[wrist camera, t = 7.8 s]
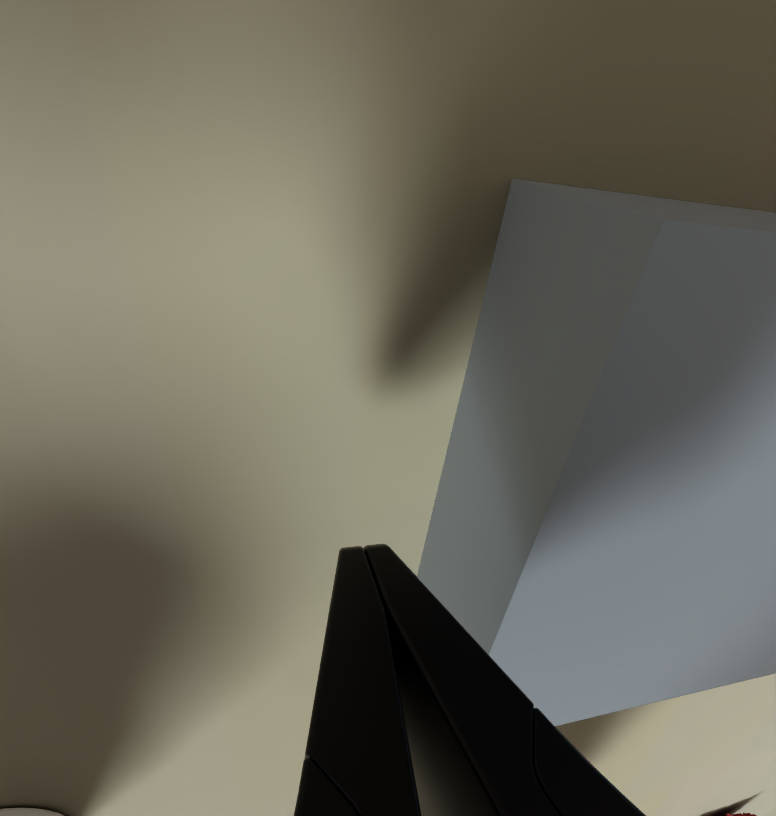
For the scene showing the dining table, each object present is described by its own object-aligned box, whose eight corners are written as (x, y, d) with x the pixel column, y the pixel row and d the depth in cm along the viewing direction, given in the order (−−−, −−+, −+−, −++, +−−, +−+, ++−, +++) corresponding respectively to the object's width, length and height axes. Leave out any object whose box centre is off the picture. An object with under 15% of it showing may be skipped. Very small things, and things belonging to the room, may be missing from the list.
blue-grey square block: (706, 562, 18) (809, 665, 15) (403, 606, 15) (450, 751, 11) (931, 231, 12) (1194, 280, 9) (501, 175, 8) (663, 220, 5)
